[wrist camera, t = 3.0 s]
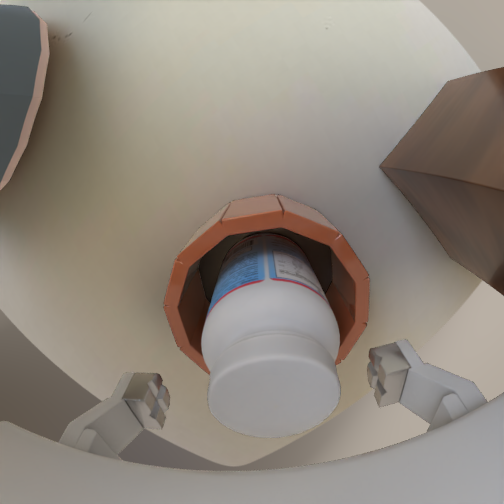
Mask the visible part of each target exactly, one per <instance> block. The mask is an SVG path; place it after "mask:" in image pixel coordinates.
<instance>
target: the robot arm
mask: <svg viewBox="0 0 504 504" xmlns="http://www.w3.org/2000/svg"><path fill="white" fill-rule="evenodd" d="M369 359H370V363H369V364H368V366H367V376H368V381H369V384H370V387H371V388H373V389H375V393H374V396H375V398H376V401H377V403H378V405H379V407H382V406H386V405H390V404H394V403H397V402H399V403H400V404H402V405H403V406H405V407H406V408H408V409H409V410H410V411H412V412H413V413H415V414H416V415H418V416H419V417H421V418H422V419H423V420H425V421H426V422H428V423H430V426H429V428H428V430H427V432H426V433H424V434H422V435H419V436H416V437H414V438H411V439H408V440H406V441H403V442H400V443H397V444H394V445H391V446H388V447H385V448H382V449H378V450H375V451H371V452H367V453H364V454H360V455H356V456H352V457H348V458H343V459H339V460H334V461H329V462H323V463H318V464H311V465H305V466H298V467H290V468H281V469H269V470H253V471H201V470H185V469H174V468H165V467H157V466H150V465H143V464H137V463H132V462H127V461H123V460H122V459H121V458H120V457H119V456H118V454H119V453H120V452H121V451H122V450H123V449H124V448H125V447H126V446H127V445H128V444H129V443H130V442H131V441H132V440H133V439H134V438H135V437H136V436H137V435H138V434H139V433H140V432H141V431H142V430H143V429H144V428H150V429H162V428H163V425H164V422H165V418H166V416H165V415H164V412H165V411H167V410H168V409H169V405H170V395H169V392H168V390H167V388H166V387H165V386H163V385H162V381H163V380H162V378H161V376H160V374H157V373H131V372H126V373H124V374H123V376H122V378H121V379H120V381H119V383H118V385H117V387H116V389H115V391H114V393H113V395H112V396H111V398H107V399H105V400H104V401H102V402H101V403H100V404H98V405H97V406H95V407H93V408H92V409H90V410H89V411H87V412H86V413H84V414H83V415H81V416H79V417H78V418H77V419H75V420H73V421H72V422H70V423H69V425H68V426H67V428H66V430H65V432H64V434H63V435H62V437H61V439H60V441H59V442H55V441H52V440H49V439H47V438H44V437H42V436H39V435H37V434H34V433H32V432H29V431H27V430H25V429H23V428H21V427H19V426H16V425H14V424H12V423H11V422H8V421H2V422H0V504H504V392H503V393H502V394H500V395H499V396H497V397H496V398H494V399H492V400H491V401H489V402H487V400H486V399H485V397H484V396H483V395H482V393H481V392H480V390H479V389H478V388H477V386H476V385H475V383H474V382H472V381H470V380H467V379H465V378H462V377H460V376H457V375H455V374H452V373H450V372H448V371H445V370H443V369H441V368H438V367H436V366H433V365H430V364H429V363H425V364H424V363H423V362H422V360H421V359H420V357H419V356H418V354H417V353H416V351H415V350H414V349H413V347H412V346H411V344H410V343H409V342H408V340H406V339H404V340H400V341H397V342H394V343H390V344H386V345H383V346H379V347H375V348H371V349H370V351H369Z"/></svg>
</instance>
